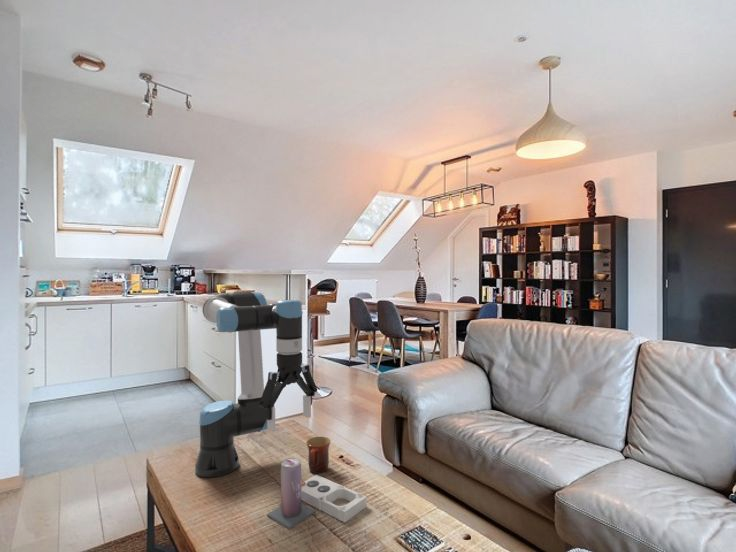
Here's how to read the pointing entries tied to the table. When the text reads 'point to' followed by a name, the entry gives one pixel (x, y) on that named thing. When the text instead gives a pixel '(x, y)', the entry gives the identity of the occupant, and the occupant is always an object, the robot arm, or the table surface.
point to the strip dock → (331, 497)
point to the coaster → (290, 521)
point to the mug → (318, 454)
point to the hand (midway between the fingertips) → (289, 423)
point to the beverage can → (291, 487)
